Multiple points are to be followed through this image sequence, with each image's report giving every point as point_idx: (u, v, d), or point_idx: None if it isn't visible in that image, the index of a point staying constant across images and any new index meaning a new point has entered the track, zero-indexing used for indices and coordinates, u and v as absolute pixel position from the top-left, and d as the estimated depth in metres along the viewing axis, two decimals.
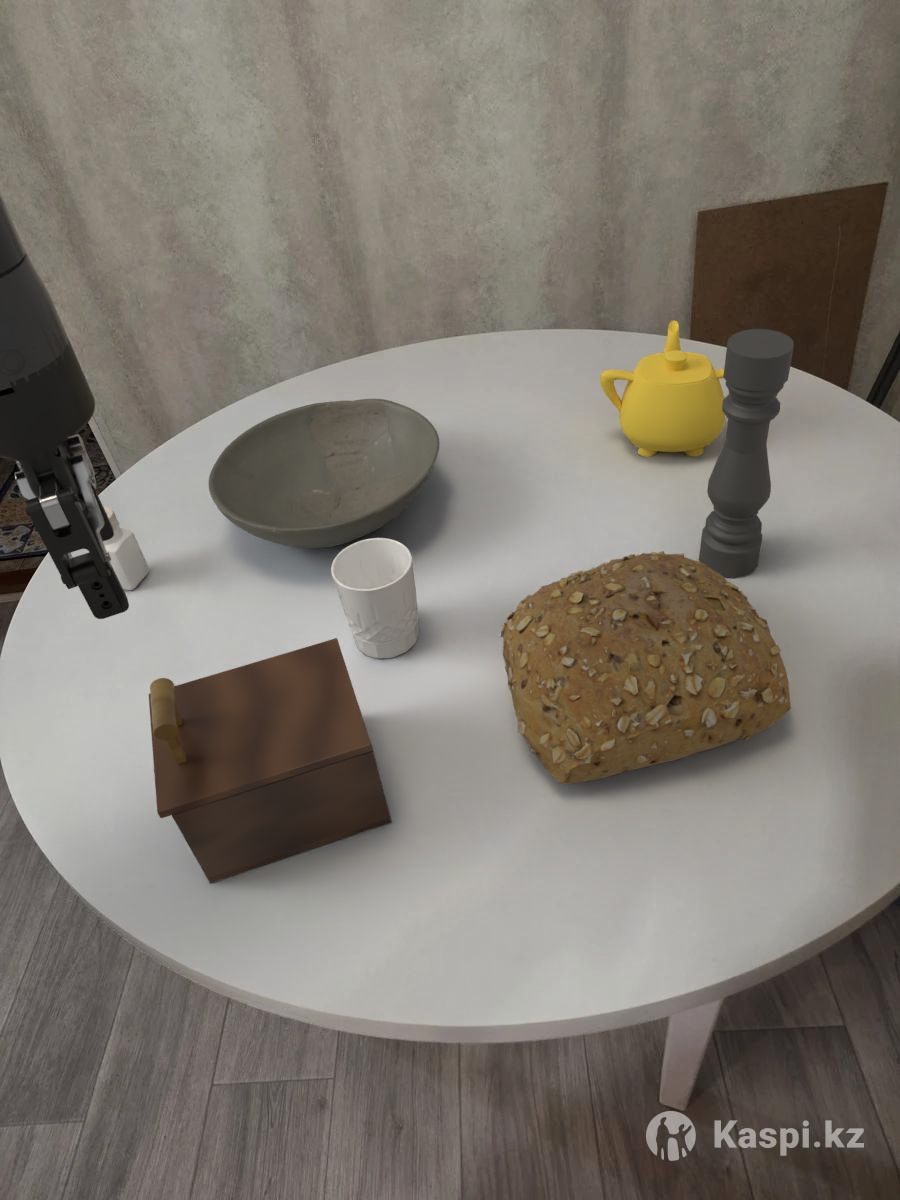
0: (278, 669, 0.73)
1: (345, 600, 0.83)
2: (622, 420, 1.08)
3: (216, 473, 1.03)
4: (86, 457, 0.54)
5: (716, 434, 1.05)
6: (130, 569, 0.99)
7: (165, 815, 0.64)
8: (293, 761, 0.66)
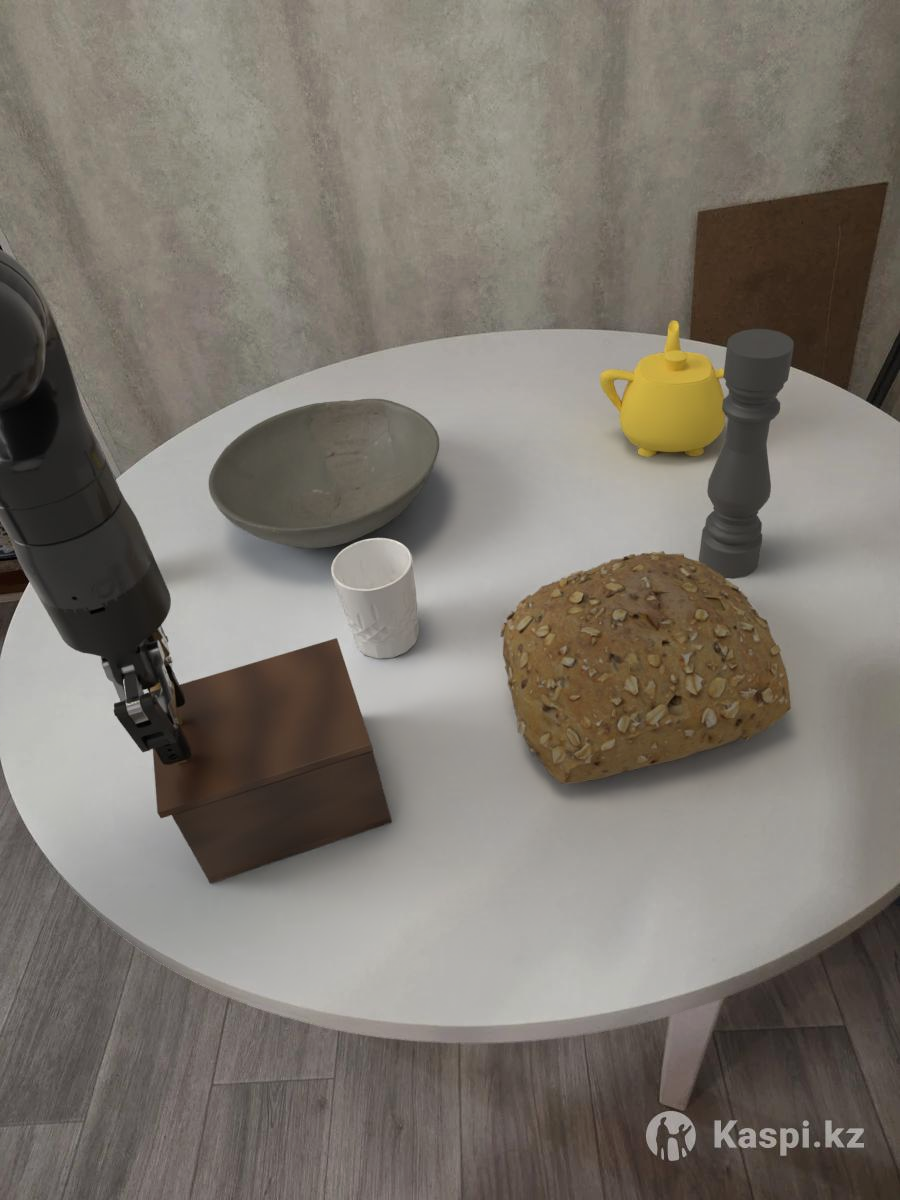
0: (278, 669, 0.73)
1: (345, 600, 0.83)
2: (622, 420, 1.08)
3: (216, 473, 1.03)
4: (161, 637, 0.63)
5: (716, 434, 1.05)
6: None
7: (165, 815, 0.64)
8: (293, 761, 0.66)
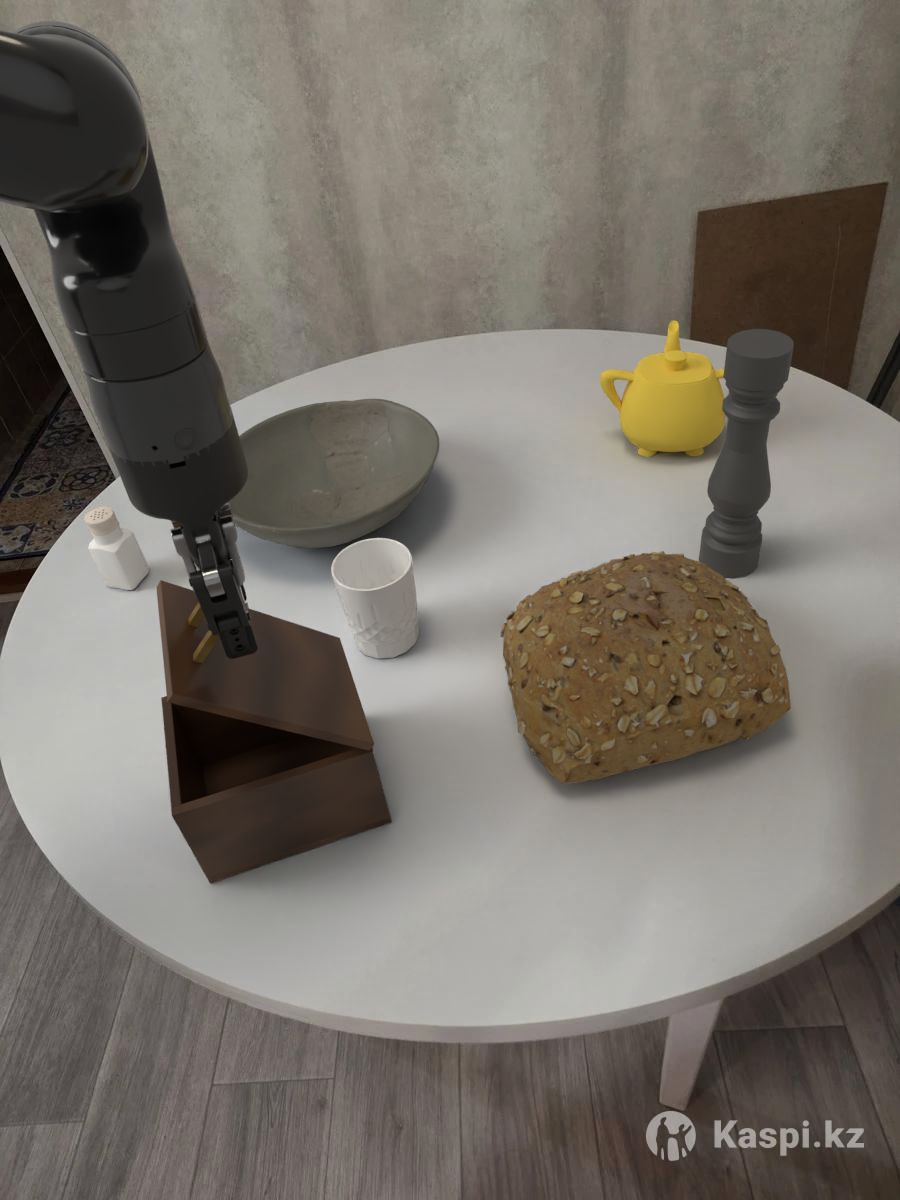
0: (288, 633, 0.71)
1: (345, 600, 0.83)
2: (622, 420, 1.08)
3: None
4: None
5: (716, 434, 1.05)
6: (130, 569, 0.99)
7: (174, 701, 0.57)
8: (306, 720, 0.63)
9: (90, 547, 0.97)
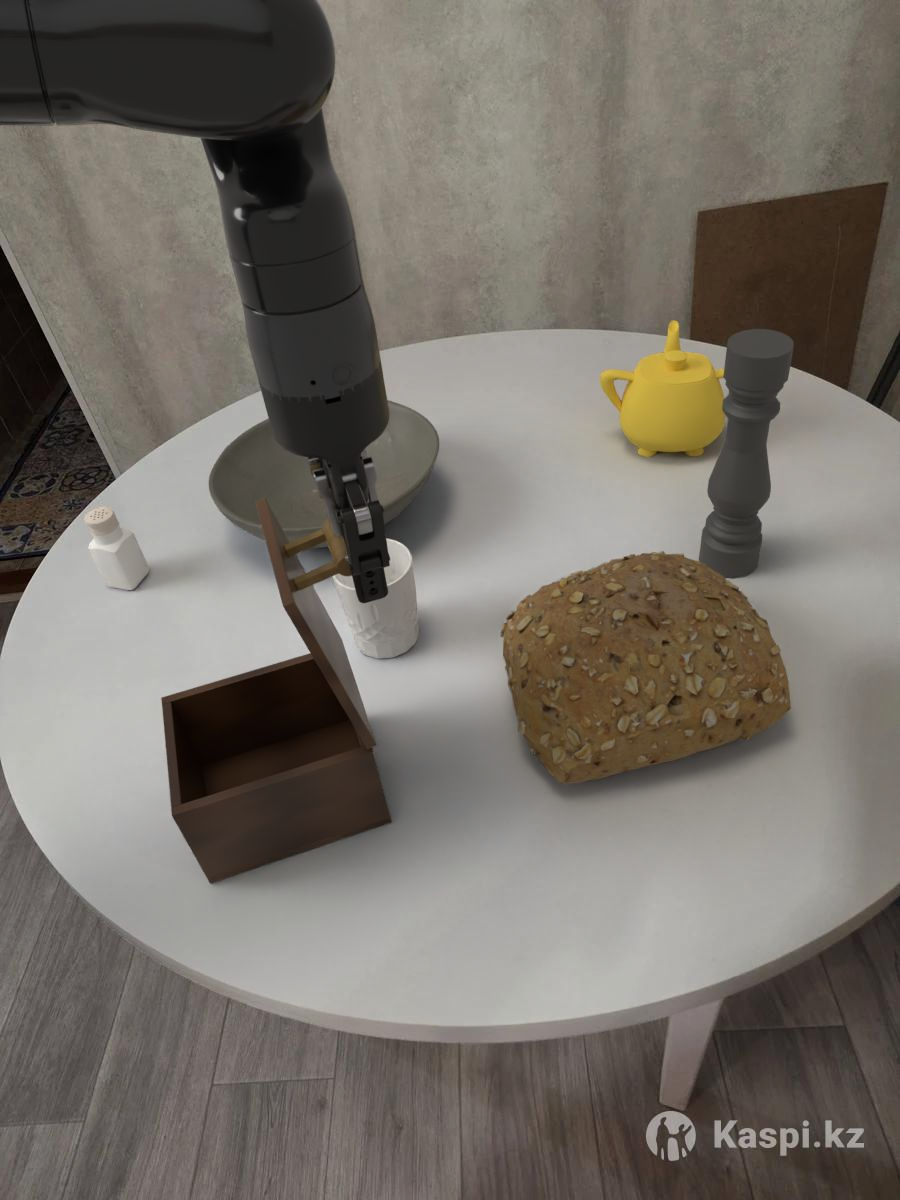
0: (323, 609, 0.71)
1: (345, 600, 0.83)
2: (622, 420, 1.08)
3: (216, 473, 1.03)
4: None
5: (716, 434, 1.05)
6: (130, 569, 0.99)
7: (288, 609, 0.55)
8: (348, 692, 0.63)
9: (90, 547, 0.97)
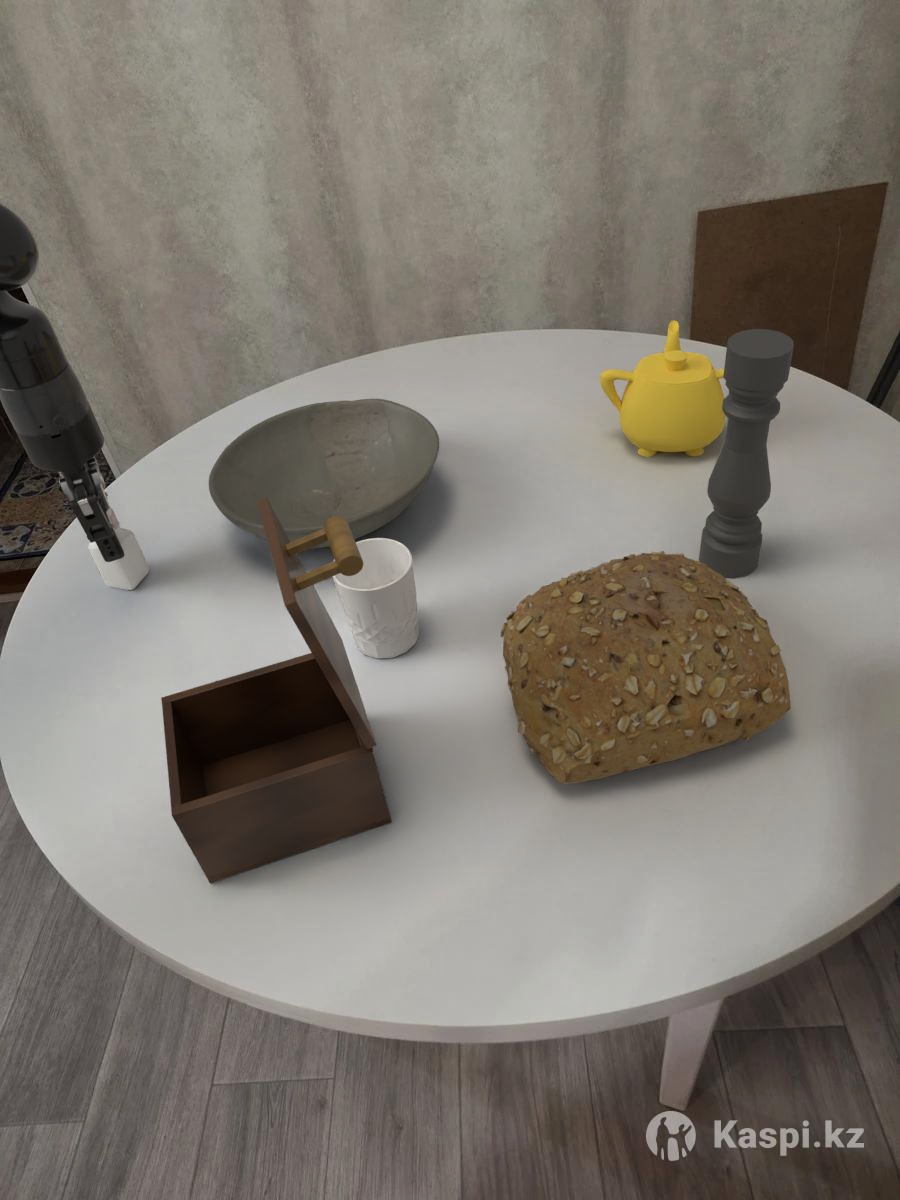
0: (323, 609, 0.71)
1: (345, 600, 0.83)
2: (622, 420, 1.08)
3: (216, 473, 1.03)
4: (98, 470, 0.93)
5: (716, 434, 1.05)
6: (130, 569, 0.99)
7: (290, 609, 0.55)
8: (348, 691, 0.63)
9: (90, 547, 0.97)
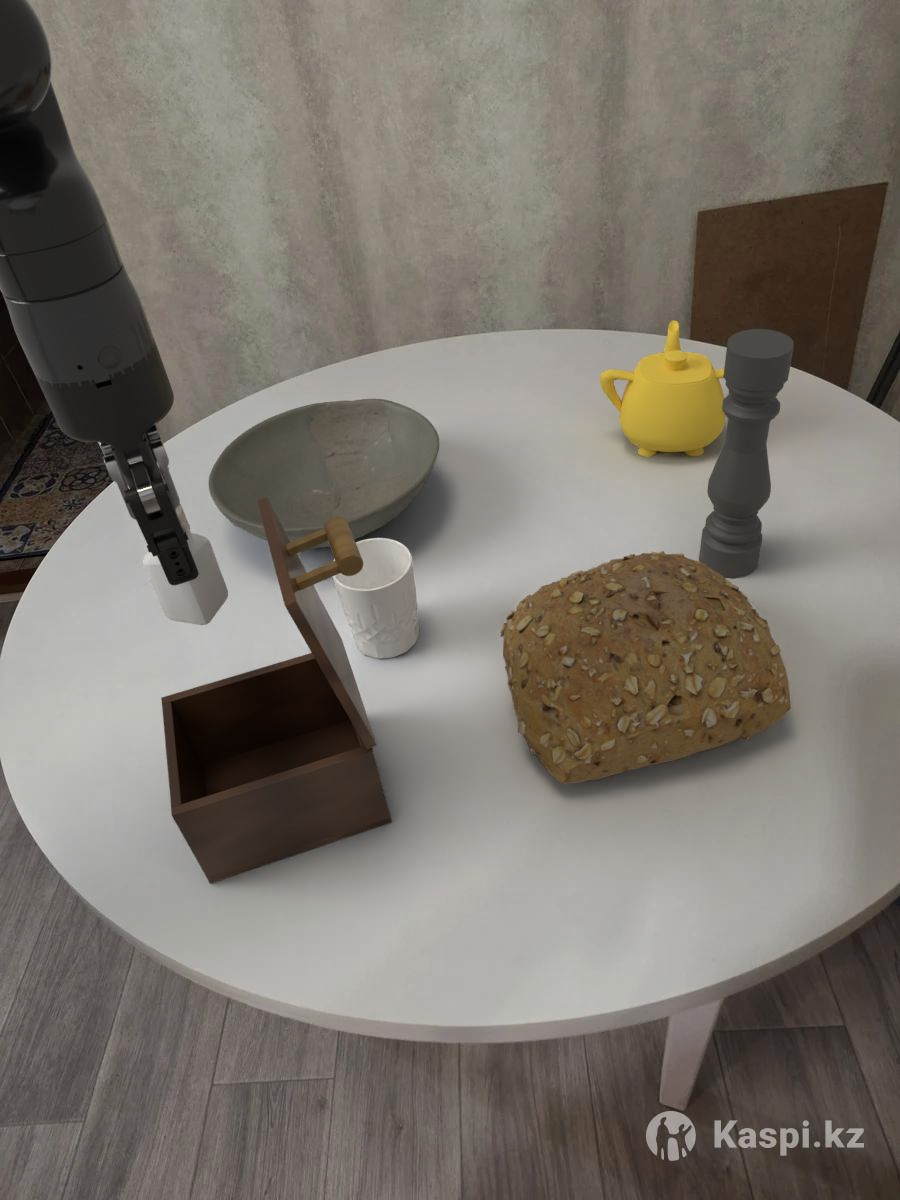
0: (323, 609, 0.71)
1: (345, 600, 0.83)
2: (622, 420, 1.08)
3: (216, 473, 1.03)
4: None
5: (716, 434, 1.05)
6: (204, 594, 0.66)
7: (290, 609, 0.55)
8: (348, 691, 0.63)
9: (146, 562, 0.64)
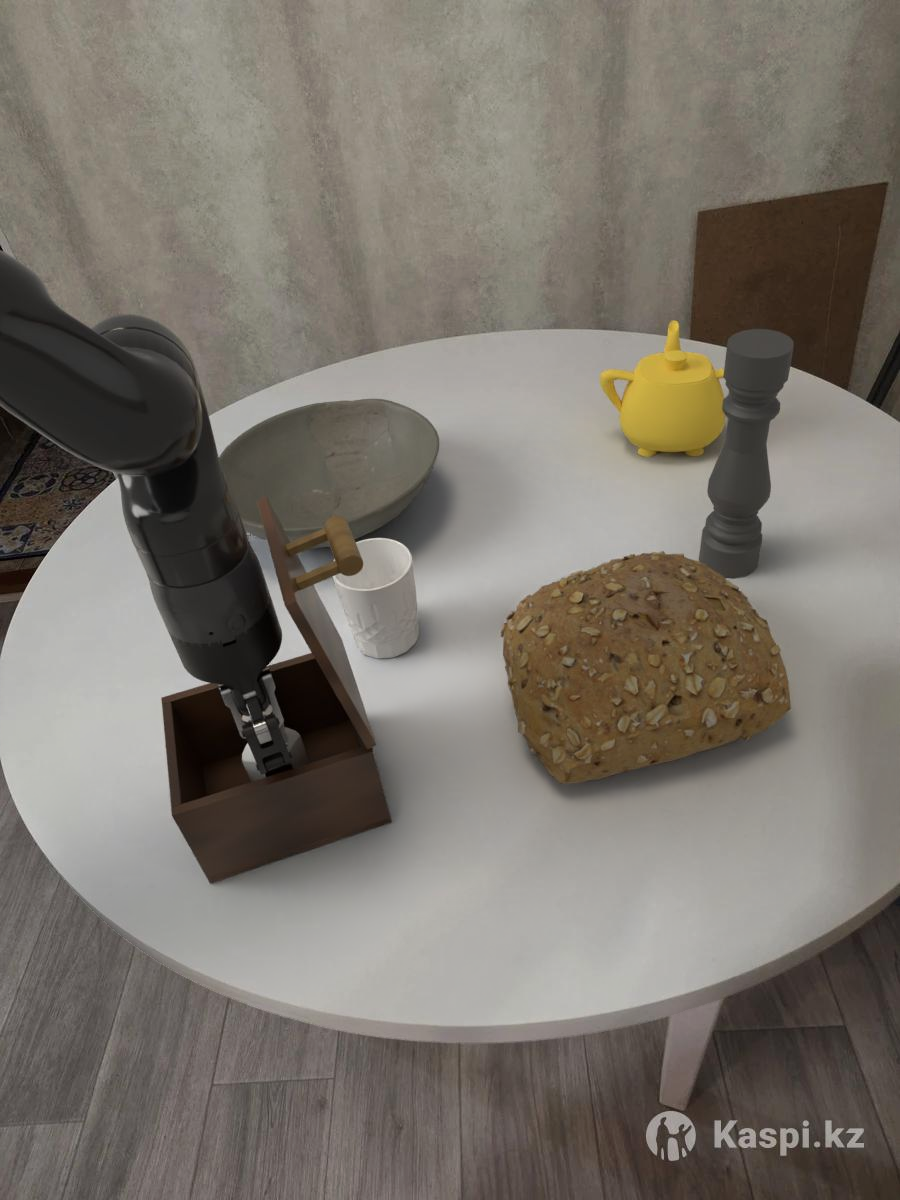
0: (323, 609, 0.71)
1: (345, 600, 0.83)
2: (622, 420, 1.08)
3: None
4: None
5: (716, 434, 1.05)
6: None
7: (290, 609, 0.55)
8: (348, 691, 0.63)
9: (245, 758, 0.71)
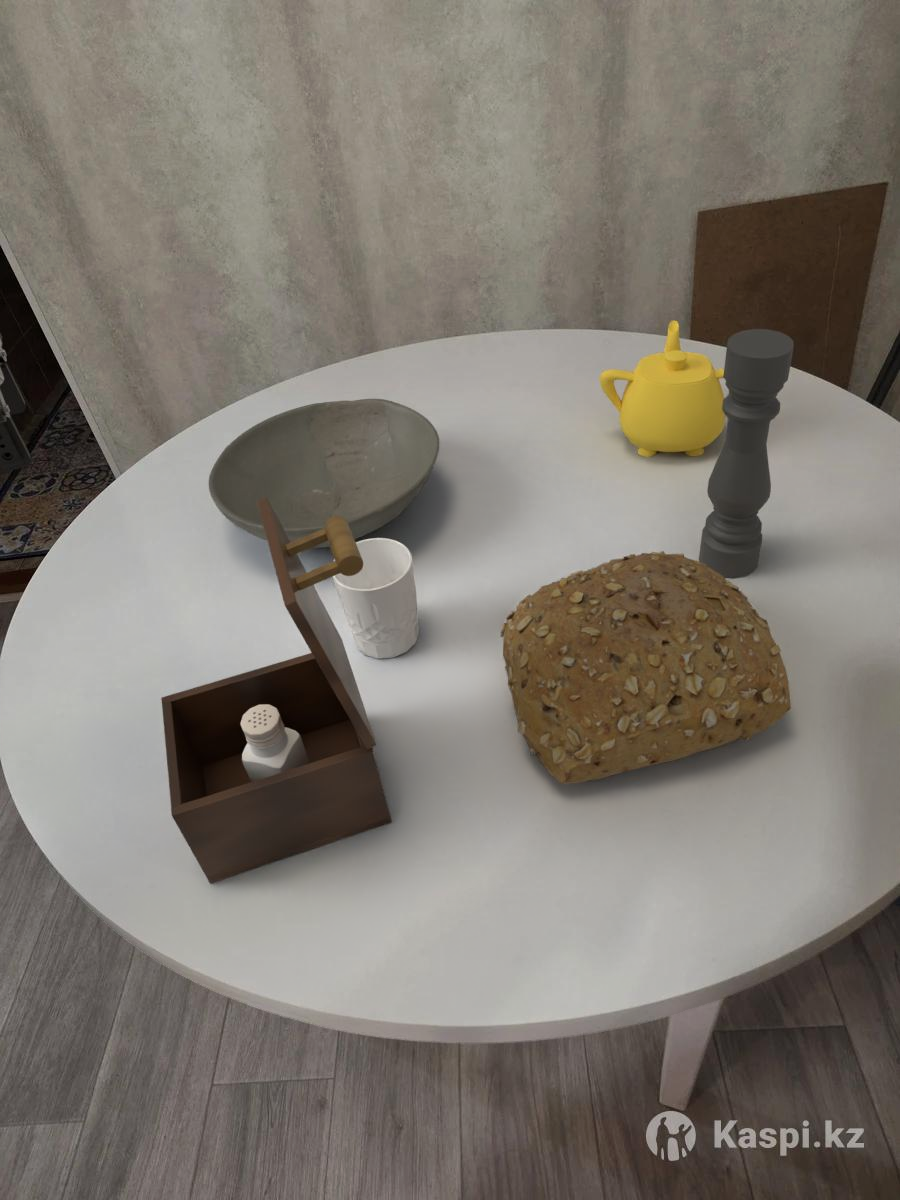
0: (323, 609, 0.71)
1: (345, 600, 0.83)
2: (622, 420, 1.08)
3: (216, 473, 1.03)
4: None
5: (716, 434, 1.05)
6: None
7: (290, 609, 0.55)
8: (348, 691, 0.63)
9: (245, 758, 0.71)
